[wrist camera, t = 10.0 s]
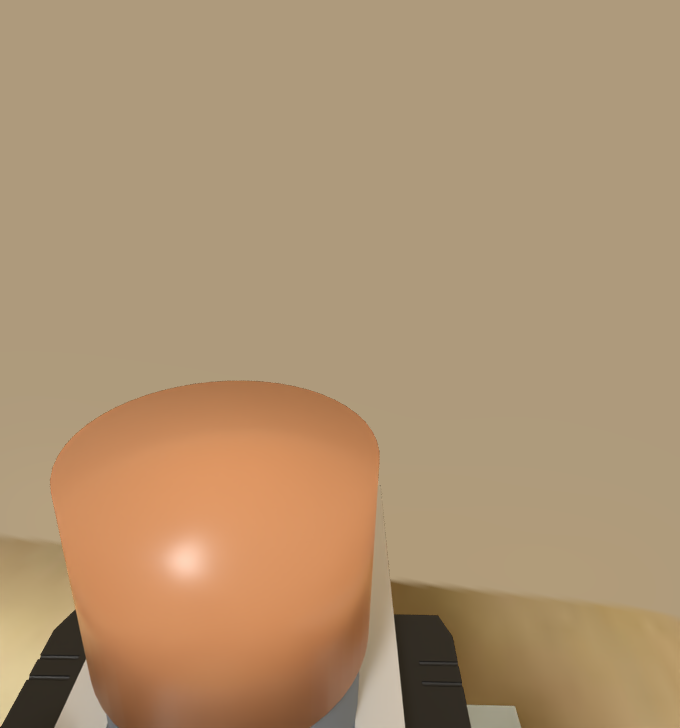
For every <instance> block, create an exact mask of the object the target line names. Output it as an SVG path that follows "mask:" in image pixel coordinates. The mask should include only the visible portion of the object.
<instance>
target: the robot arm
mask: <svg viewBox="0 0 680 728" xmlns="http://www.w3.org/2000/svg"><path fill="white" fill-rule="evenodd" d="M381 495H382V494H381V486H380V485H378V492H377V508H376V524H375V539H374V555H373V571H372V587H371V603H370V619H369V635H368V643H367V648H366V653H365V656H364V659H363V662H362V665H361V668H360V671H359V689H358V705H357V711H356V716H355V726H354V728H471V723H470V719H469V714H468V709H467V704H466V699H465V695H464V690H463V687H462V680H461V675H460V670H459V666H458V661H457V656H456V651H455V646H454V642H453V637H452V635H451V634H450V632H449V631H448V630H447V628H446V627H445V625H444V624H443V622H442V621H441V619H440V618H439V616H438V615H394V613H393V603H392V593H391V583H390V573H389V563H388V554H387V544H386V534H385V524H384V516H383V504H382V496H381ZM0 728H109V726H108V721H107V716H106V713H105V712H104V710H103V709H102V707H101V705H100V703H99V701H98V699H97V698H96V696H95V693H94V690H93V686H92V683H91V680H90V675H89V670H88V666H87V661H86V656H85V651H84V647H83V642H82V637H81V633H80V628H79V623H78V618H77V614H76V609H75V610H74V611H73V612H72V613H71V614H70V615H69V616H68V617H67V618H66V619H65V620H64V621H63V622H62V623H61V624H60V625H59V626H58V627H57V628H56V629H55V630H54V631H53V633H52V635H51V636H50V638H49V640H48V642H47V644H46V645H45V647H44V649H43V651H42V653H41V657H40V659H38V660H37V662H36V664H35V666H34V667H33V669H32V671H31V673H30V677H29V680H26V682H25V684H24V686H23V688H22V689H21V691H20V693H19V695H18V697H17V698H16V700H15V702H14V704H13V706H12V708H11V709H10V711H9V713H8V715H7V717H6V719H5V720H4V722H3V724H2V726H1V727H0Z"/></svg>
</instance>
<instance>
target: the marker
mask: <svg viewBox="0 0 680 728" xmlns="http://www.w3.org/2000/svg"><path fill="white" fill-rule="evenodd" d="M378 476H379V448H378V444H377V440H376V438H375V436H374V434H373V432H372V430H371V429H370V428H369V426H368V425H367V424H366V422H365V421H364V420H363V419H362V418H361V417H360V416H358V415H357V414H356V413H355V412H354V411H352V410H351V409H349V408H348V407H347V406H345V405H343V404H341V403H340V402H338V401H336V400H334V399H331V398H329V397H327V396H325V395H322V394H319V393H316V392H313V391H310V390H307V389H303V388H299V387H295V386H290V385H284V384H279V383H271V382H260V381H218V382H207V383H198V384H192V385H185V386H180V387H175V388H171V389H167V390H162V391H159V392H155V393H152V394H148V395H145V396H142V397H140V398H137V399H134V400H131V401H129V402H127V403H125V404H122V405H120V406H118V407H115V408H114V409H112V410H110V411H108V412H106V413H104V414H103V415H101V416H99V417H98V418H96V419H94V420H93V421H91V422H90V423H89V424H87V425H86V426H85V427H84V428H82V429H81V430H80V431H79V432H77V433H76V434H75V435H74V436H73V437H72V438H71V439H70V440H69V441H68V443H67V444H66V445H65V446H64V448H63V449H62V451H61V452H60V453H59V455H58V457H57V459H56V461H55V463H54V466H53V468H52V473H51V478H50V485H51V495H52V500H53V505H54V509H55V514H56V519H57V524H58V528H59V533H60V538H61V542H62V547H63V552H64V557H65V561H66V566H67V571H68V576H69V580H70V585H71V590H72V595H73V599H74V604H75V609H76V614H77V618H78V623H79V628H80V633H81V637H82V642H83V647H84V651H85V656H86V661H87V666H88V670H89V675H90V680H91V683H92V686H93V690H94V693H95V696H96V698H97V699H98V701H99V703H100V705H101V707H102V709H103V710H104V712H105V713H106V716H107V721H108V726H109V728H354V726H355V716H356V711H357V705H358V689H359V671H360V668H361V665H362V662H363V659H364V656H365V653H366V648H367V643H368V635H369V619H370V603H371V587H372V571H373V555H374V539H375V524H376V508H377V492H378Z"/></svg>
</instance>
